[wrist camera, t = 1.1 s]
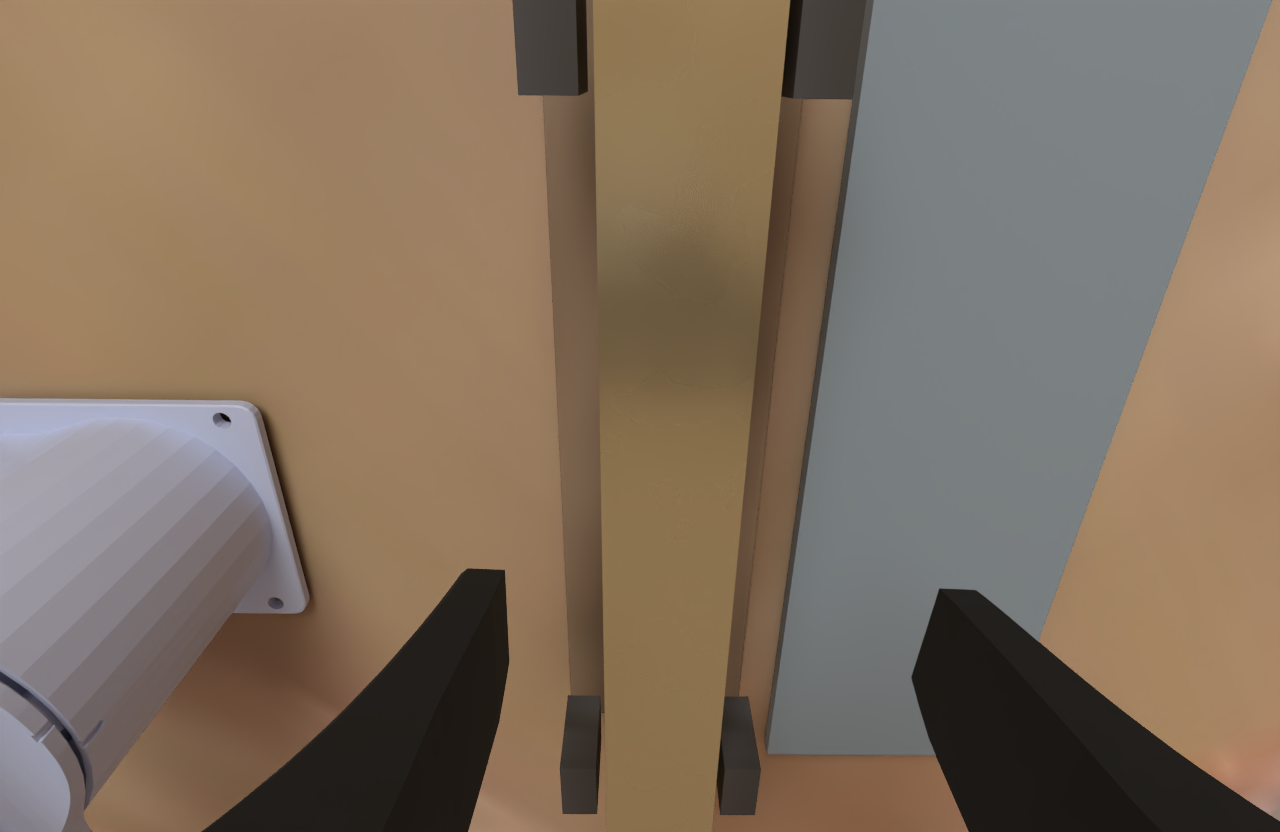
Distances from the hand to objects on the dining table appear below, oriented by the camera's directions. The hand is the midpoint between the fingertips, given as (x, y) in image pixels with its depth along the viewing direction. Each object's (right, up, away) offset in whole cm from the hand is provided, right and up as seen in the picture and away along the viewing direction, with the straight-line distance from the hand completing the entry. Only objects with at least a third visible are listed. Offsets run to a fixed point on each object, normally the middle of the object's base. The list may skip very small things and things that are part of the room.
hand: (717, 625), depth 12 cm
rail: (-1, +2, +6) cm, 7 cm away
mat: (+8, +4, +9) cm, 13 cm away
